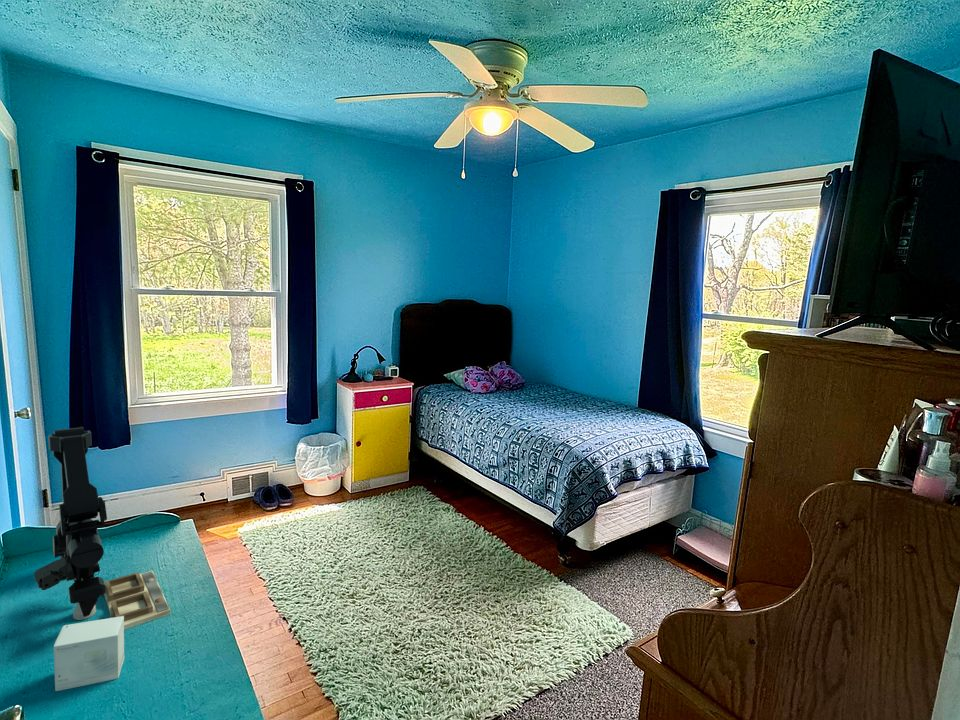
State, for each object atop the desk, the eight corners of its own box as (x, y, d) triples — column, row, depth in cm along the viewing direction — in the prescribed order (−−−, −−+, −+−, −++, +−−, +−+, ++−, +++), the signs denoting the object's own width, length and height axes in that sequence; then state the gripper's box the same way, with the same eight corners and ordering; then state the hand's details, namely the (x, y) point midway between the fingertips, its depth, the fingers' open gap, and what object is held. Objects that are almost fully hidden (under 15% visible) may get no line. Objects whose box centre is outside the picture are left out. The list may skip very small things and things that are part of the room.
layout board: (102, 588, 128) (102, 579, 128) (152, 574, 136) (152, 565, 136) (115, 632, 114) (115, 622, 114) (170, 614, 122) (170, 604, 122)
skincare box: (54, 693, 98) (52, 646, 96) (64, 669, 103) (62, 624, 102) (118, 679, 102) (117, 634, 101) (125, 657, 108) (124, 614, 106)
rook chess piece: (83, 622, 116) (82, 591, 115) (67, 618, 117) (66, 587, 116) (101, 610, 121) (100, 580, 120) (86, 606, 122) (85, 577, 120)
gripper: (34, 539, 117) (37, 599, 120) (38, 578, 104) (42, 644, 107) (93, 526, 125) (95, 582, 127) (104, 561, 112) (106, 623, 114)
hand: (84, 606), depth 119 cm, fingers open, 8 cm apart
